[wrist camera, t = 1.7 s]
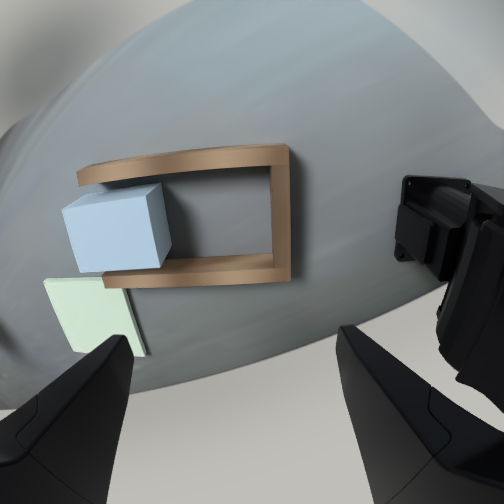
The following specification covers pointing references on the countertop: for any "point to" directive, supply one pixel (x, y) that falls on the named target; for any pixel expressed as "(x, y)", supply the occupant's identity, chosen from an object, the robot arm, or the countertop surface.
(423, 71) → the countertop surface
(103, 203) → the block
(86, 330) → the mat
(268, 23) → the countertop surface
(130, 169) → the u-shaped frame
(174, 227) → the countertop surface
